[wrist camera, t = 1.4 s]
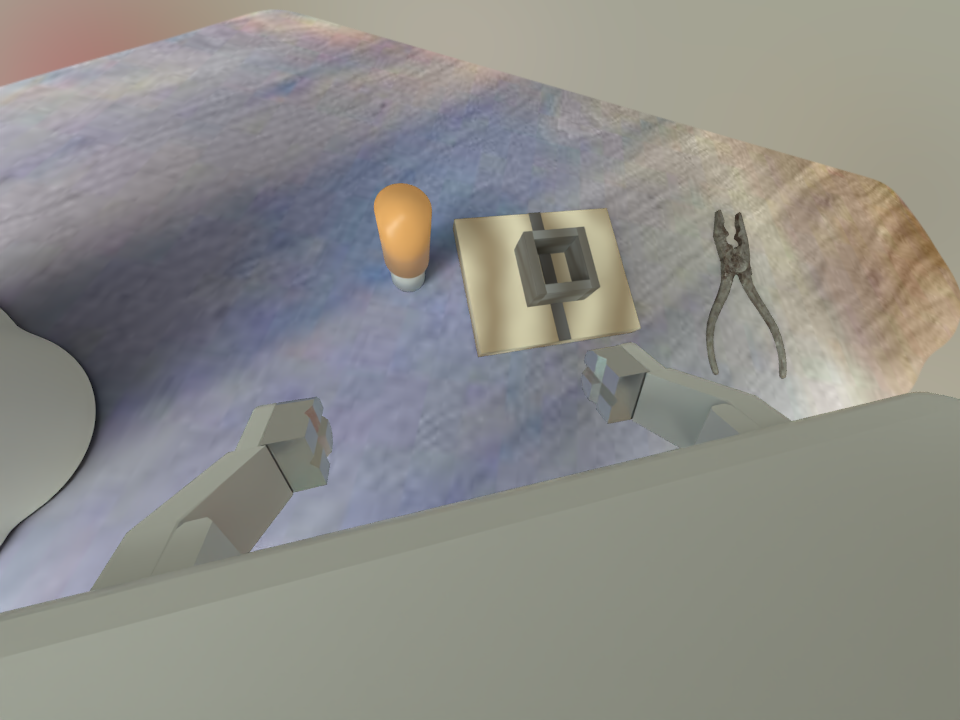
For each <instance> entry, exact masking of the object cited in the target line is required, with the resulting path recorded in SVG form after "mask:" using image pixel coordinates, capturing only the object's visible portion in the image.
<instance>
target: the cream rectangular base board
mask: <svg viewBox="0 0 960 720" xmlns="http://www.w3.org/2000/svg"><path fill="white" fill-rule="evenodd" d="M453 232H454V237H455V242H456V247H457V252H458V257H459V262H460V267H461V273H462V278H463V283H464V288H465V293H466V298H467V303H468V308H469V313H470V318H471V323H472V328H473V333H474V338H475V343H476V348H477V353H478V357H482V356H488V355H495V354H501V353H507V352H513V351H520V350H526V349H532V348H538V347H545V346H551V345H557V344H563V343H570V342H576V341H582V340H588V339H595V338H601V337H607V336H613V335H620V334H626V333H632V332H634V331H636V330H638V329H640V328H641V327H640V324H639V320H638V317H637V313H636V310H635V306H634V303H633V299H632V296H631V292H630V289H629V285H628V282H627V278H626V275H625V271H624V267H623V264H622V260H621V257H620V253H619V250H618V246H617V243H616V239H615V236H614V232H613V229H612V225H611V222H610V218H609V215H608V211H607V208H603V209H589V210H575V211H562V212H548V213H540V212H539V213H529V214H520V215H506V216H492V217H478V218H464V219H454V224H453Z"/></svg>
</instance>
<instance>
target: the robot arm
mask: <svg viewBox="0 0 960 720" xmlns="http://www.w3.org/2000/svg"><path fill="white" fill-rule="evenodd" d="M584 362H585V364H586V365H587V368H586V369H585V370H584V371H583V373H582V378H581V384H582V390H583V392H584V394H585V396H586V397H587V398H588V400H589V401H592V402H594V403H596V404H597V407H596V410H597V411H598V412H599V414H600V415H601V416H602V417H603V419H604V420H605V421H606V422H607V424H609V423H614V422H619V421H625V420H630V419H632V421H634V422H636V423H638V424H639V425H641V426H643V427H644V428H646V429H648V430H650V431H651V432H653V433H655V434H657V435H658V436H660V437H662V438H664V439H665V440H667V441H669V442H670V443H672V444H674V445H676V446H677V447H679V448H680V449H675V450H671V451H667V452H663V453H659V454H655V455H651V456H647V457H642V458H638V459H634V460H630V461H626V462H622V463H618V464H613V465H609V466H605V467H601V468H597V469H593V470H589V471H584V472H580V473H576V474H572V475H568V476H564V477H559V478H555V479H551V480H547V481H543V482H539V483H535V484H531V485H526V486H522V487H518V488H514V489H510V490H506V491H502V492H498V493H493V494H489V495H485V496H481V497H477V498H473V499H469V500H465V501H460V502H456V503H452V504H448V505H444V506H440V507H436V508H431V509H427V510H423V511H419V512H415V513H411V514H407V515H403V516H398V517H394V518H390V519H386V520H382V521H378V522H374V523H369V524H365V525H361V526H357V527H353V528H349V529H345V530H341V531H336V532H332V533H328V534H324V535H320V536H316V537H312V538H308V539H303V540H299V541H295V542H291V543H287V544H283V545H279V546H274V547H270V548H266V549H262V550H258V551H254V552H250V551H251V549H252V548H253V547H254V545H255V544H256V543H257V541H258V540H259V539H260V538H261V536H262V535H263V534H264V532H265V531H266V530H267V528H268V527H269V526H270V524H271V523H272V522H273V520H274V519H275V518H276V516H277V515H278V514H279V513H280V511H281V510H282V509H283V507H284V506H285V505H286V503H287V502H288V501H289V499H290V498H291V497H292V495H293V493H294V492H298V491H302V490H306V489H310V488H314V487H318V486H323V485H327V480H328V474H329V468H330V463H329V461H328V459H327V457H328V455H329V454H330V453H331V452H332V447H333V437H332V430H331V426H330V423H329V421H328V419H326V418H325V417H323V416H322V413H323V406H322V403H321V401H320V399H319V398H318V397H312V398H305V399H299V400H292V401H285V402H279V403H273V404H267V405H261V406H258V407H256V408H255V409H254V410H253V412H252V415H251V417H250V419H249V421H248V423H247V425H246V428H245V430H244V432H243V434H242V436H241V439H240V441H239V443H238V445H237V447H236V449H235V451H233V452H228V453H227V454H226V455H224V456H223V457H222V458H221V459H219V460H218V461H217V462H215V463H214V464H213V465H212V466H210V467H209V468H208V469H207V470H205V471H204V472H203V473H202V474H200V475H199V476H198V477H197V478H195V479H194V480H193V481H192V482H190V483H189V484H188V485H187V486H185V487H184V488H183V489H181V490H180V491H179V492H178V493H176V494H175V495H174V496H173V497H171V498H170V499H169V500H168V501H166V502H165V503H164V504H163V505H161V506H160V507H159V508H158V509H156V510H155V511H154V512H153V513H151V514H150V515H149V516H147V517H146V518H145V519H144V520H142V521H141V522H140V523H139V524H137V525H136V526H135V527H134V528H132V529H131V530H130V531H129V532H127V533H126V535H125V536H124V538H123V540H122V541H121V543H120V544H119V546H118V547H117V549H116V551H115V552H114V554H113V555H112V557H111V558H110V560H109V562H108V563H107V565H106V566H105V568H104V570H103V571H102V573H101V574H100V576H99V577H98V579H97V581H96V582H95V584H94V585H93V587H92V588H91V590H90V591H89V592H84V593H80V594H76V595H72V596H68V597H64V598H60V599H55V600H51V601H47V602H43V603H39V604H35V605H31V606H27V607H22V608H18V609H14V610H10V611H6V612H2V613H0V720H960V399H957V398H953V397H949V396H944V395H939V394H934V393H929V392H913V393H907V394H902V395H898V396H894V397H890V398H886V399H882V400H878V401H874V402H870V403H866V404H861V405H857V406H853V407H849V408H845V409H841V410H837V411H832V412H828V413H824V414H820V415H816V416H812V417H808V418H803V419H799V420H795V421H791V420H789V419H788V418H787V417H785V416H784V415H782V414H781V413H779V412H778V411H777V410H775V409H774V408H772V407H771V406H769V405H768V404H767V403H765V402H764V401H762V400H761V399H759V398H758V397H757V396H755V395H752V394H748V393H745V392H742V391H739V390H736V389H733V388H730V387H727V386H724V385H721V384H718V383H715V382H712V381H709V380H705V379H702V378H699V377H696V376H693V375H690V374H687V373H684V372H681V371H678V370H675V369H672V368H668V369H666V368H664V367H663V366H662V365H661V364H660V363H658V362H657V361H656V360H655V359H653V358H652V357H651V356H650V355H649V354H647V353H646V352H645V351H644V350H642V349H641V348H640V347H639V346H637V345H636V344H634V343H631V342H630V343H625V344H620V345H616V346H612V347H606V348H601V349H595V350H590V351H587V353H586V355H585V360H584ZM95 414H96V408H95V398H94V393H93V389H92V386H91V383H90V381H89V379H88V377H87V375H86V373H85V371H84V370H83V369H82V367H81V366H80V365H79V363H78V362H77V361H76V360H75V359H74V358H73V357H72V356H71V355H70V354H69V353H67V352H66V351H65V350H64V349H62V348H61V347H59V346H58V345H56V344H54V343H52V342H50V341H48V340H46V339H44V338H41V337H39V336H36V335H34V334H31V333H29V332H27V331H25V330H23V329H21V328H19V327H18V326H17V325H16V324H15V323H14V322H13V321H12V319H11V318H10V317H9V316H8V315H7V314H6V313H5V312H4V311H3V310H2V309H1V308H0V546H1V544H2V543H3V541H4V540H5V538H6V537H7V535H8V534H9V532H10V531H11V530H12V529H13V528H14V527H15V526H16V525H17V524H19V523H20V522H21V521H22V520H23V519H25V518H26V517H27V516H29V515H30V514H31V513H33V512H34V511H35V510H37V509H38V508H39V507H41V506H42V505H43V504H45V503H46V502H47V501H48V500H49V499H50V498H51V497H53V496H54V495H55V494H56V493H57V492H58V491H59V490H60V489H61V488H62V487H63V486H64V484H65V483H66V482H67V481H68V480H69V478H70V477H71V476H72V474H73V473H74V472H75V470H76V469H77V467H78V466H79V464H80V462H81V461H82V459H83V457H84V455H85V453H86V451H87V449H88V446H89V443H90V441H91V437H92V434H93V430H94V425H95ZM249 552H250V553H249Z"/></svg>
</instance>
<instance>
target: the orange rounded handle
mask: <svg viewBox="0 0 960 720" xmlns="http://www.w3.org/2000/svg"><path fill="white" fill-rule="evenodd" d="M374 211H375V216H376V221H377V226H378V231H379V236H380V240H381V245H382V250H383V255H384V260H385V264H386V266H387V268H388V269H389V270H390V272H391V277H392V281H393V283H394V285H395V286H396V287H397V288H398V289H400V290H402V291H405V292H413V291H416V290H418V289H419V288H420V287H421V286H422V285H423V283H424V280H425V270H426V269H427V267H428V264H429V251H430V234H431V216H432V207H431V203H430V201H429V199H428V197H427V196H426V195H425V193H424V192H422V191H421V190H420V189H418V188H417V187H415V186H412V185H409V184H403V183H398V184H392V185H389V186H387V187H385V188H384V189H382V190H381V191H380V192H379V194H378V195H377V197H376V199H375V202H374Z"/></svg>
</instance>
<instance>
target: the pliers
mask: <svg viewBox="0 0 960 720" xmlns="http://www.w3.org/2000/svg"><path fill="white" fill-rule="evenodd" d="M735 228H736V231H737V232H736V234H735V236H734V239H735V240H736V241H737V242H738V246H737V247H736V248H733V246H732V245H729V244H728V243H727V241H726V237H727V236H728V235H729V234H728V232H727V231H726V229H725V227H724V218H723V215H722V212H721V210H718V211H717V212H715V220H714V232H713V238H714V241H715V245H716V248H717V251H718V255H719V258H720V261H721V284H720V288H719V291H718V294H717V297H716V299H715V302H714V304H713V307H712V309H711V312H710V315H709V318H708V322H707V330H706V342H707V352H708V358H709V362H710V365H711V369H712V371H713V373H714V374H715V375H717V374H718V373H719V371H718V367H717V363H716V360H715V355H714V346H713V336H714V328H715V323H716V320H717V318H718V315H719V313H720V311H721V309H722V307H723V304H724V302H725V301H726V299H727V296H728V294H729V292H730V288H731V285H732V282H733V278H734V276H735V274H737V275H738V277H739V280H740V282H741V284H742V286H743V288H744V290H745V292H746V294H747V295H748V297H749V298H750V300H751V301H752V303H753V304H754V306H755V307H756V308H757V310H758V311H759V313H760V314H761V316H762V317H763V319H764V321H765V322H766V324H767V325H768V327H769V329H770V331H771V333H772V335H773V338H774V341H775V344H776V348H777V352H778V357H779V374H780V377H781V378H782V379H783V378H785V377H786V371H787V370H786V354H785V349H784V344H783V341H782V337H781V334H780V332H779V329H778V327H777V325H776V323H775V321H774V319H773V317H772V316H771V314H770V313H769V311H768V309H767V308H766V306H765V304H764V303H763V301H762V300H761V298H760V296H759V294H758V293H757V291H756V289H755V287H754V285H753V282H752V278H751V275H752V271H751V267H750V263H749V262H750V252H749V245H748V238H747V234H746V230H745V226H744V222H743V219H742V215H741V213H740V212H739V213H738V214H736V215H735Z"/></svg>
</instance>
